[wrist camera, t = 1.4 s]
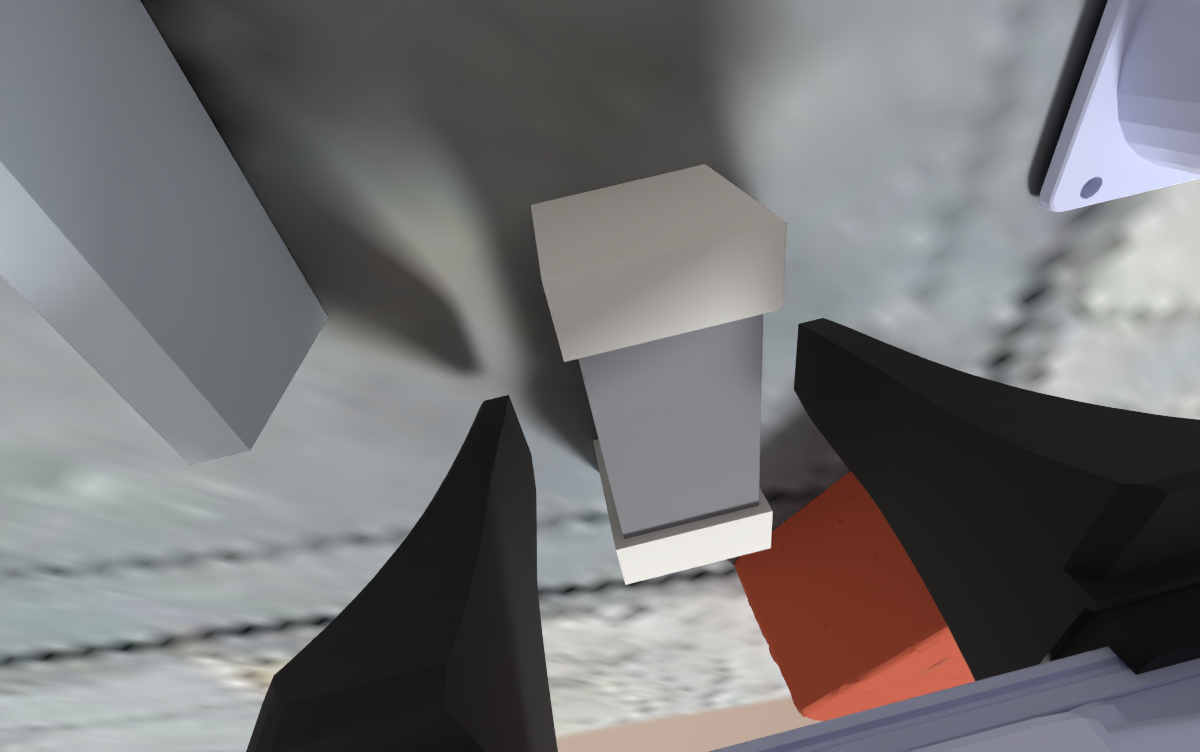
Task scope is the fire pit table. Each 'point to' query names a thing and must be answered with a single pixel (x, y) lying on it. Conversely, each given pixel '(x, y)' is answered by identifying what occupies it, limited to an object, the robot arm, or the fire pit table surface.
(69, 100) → the cover
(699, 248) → the grey white long block
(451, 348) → the fire pit table surface
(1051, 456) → the robot arm
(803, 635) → the brick
